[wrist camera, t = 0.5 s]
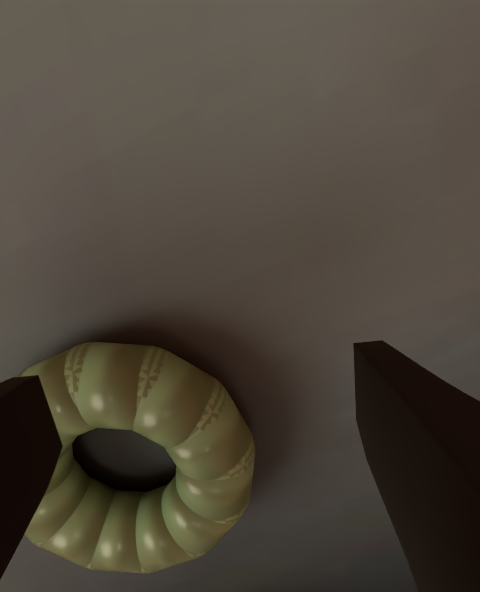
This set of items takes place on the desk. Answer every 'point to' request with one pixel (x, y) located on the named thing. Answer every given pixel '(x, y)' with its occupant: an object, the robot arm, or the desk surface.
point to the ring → (159, 428)
